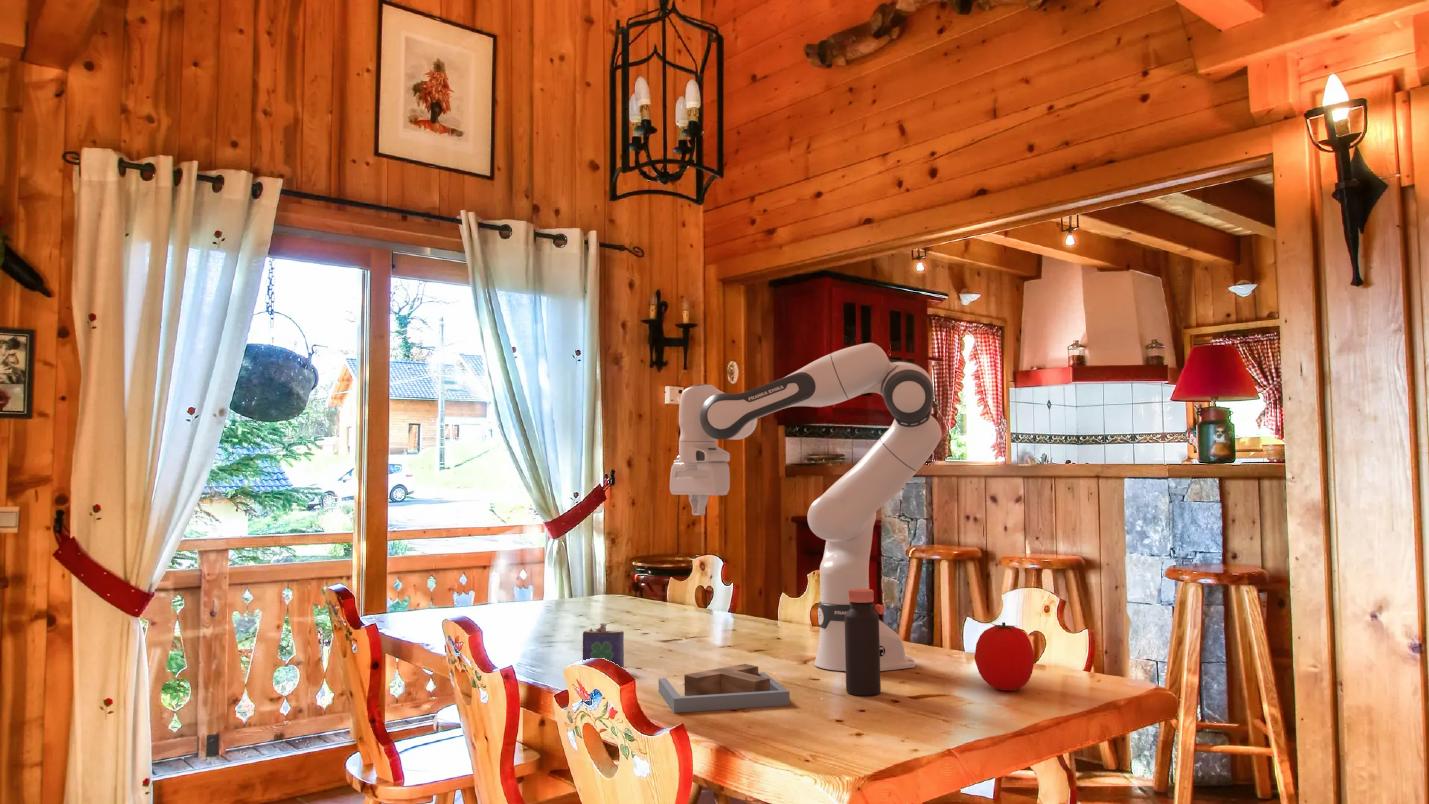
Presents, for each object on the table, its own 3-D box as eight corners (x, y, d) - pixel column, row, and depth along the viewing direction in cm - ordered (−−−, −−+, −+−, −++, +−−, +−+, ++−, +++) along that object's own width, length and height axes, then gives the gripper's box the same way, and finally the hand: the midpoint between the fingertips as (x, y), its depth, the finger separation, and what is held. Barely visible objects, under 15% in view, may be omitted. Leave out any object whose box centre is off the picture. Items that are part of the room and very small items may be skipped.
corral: (764, 684, 193) (764, 672, 193) (789, 705, 176) (789, 691, 176) (658, 691, 188) (658, 678, 189) (673, 712, 171) (673, 698, 171)
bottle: (840, 690, 187) (838, 588, 189) (872, 687, 189) (869, 587, 191) (854, 697, 181) (851, 592, 183) (886, 695, 183) (884, 591, 184)
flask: (624, 670, 209) (624, 621, 210) (622, 673, 206) (622, 623, 207) (583, 670, 210) (583, 622, 210) (581, 673, 207) (580, 624, 207)
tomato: (1050, 691, 184) (1047, 623, 185) (1006, 699, 178) (1003, 629, 179) (1004, 680, 194) (1002, 616, 195) (961, 688, 188) (959, 621, 189)
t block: (745, 683, 195) (745, 663, 195) (792, 695, 184) (792, 674, 184) (684, 695, 185) (684, 674, 185) (730, 708, 174) (730, 686, 174)
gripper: (663, 455, 223) (663, 514, 222) (711, 453, 206) (711, 516, 205) (685, 455, 227) (685, 513, 226) (734, 453, 210) (735, 515, 209)
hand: (698, 515), depth 215 cm, fingers closed
